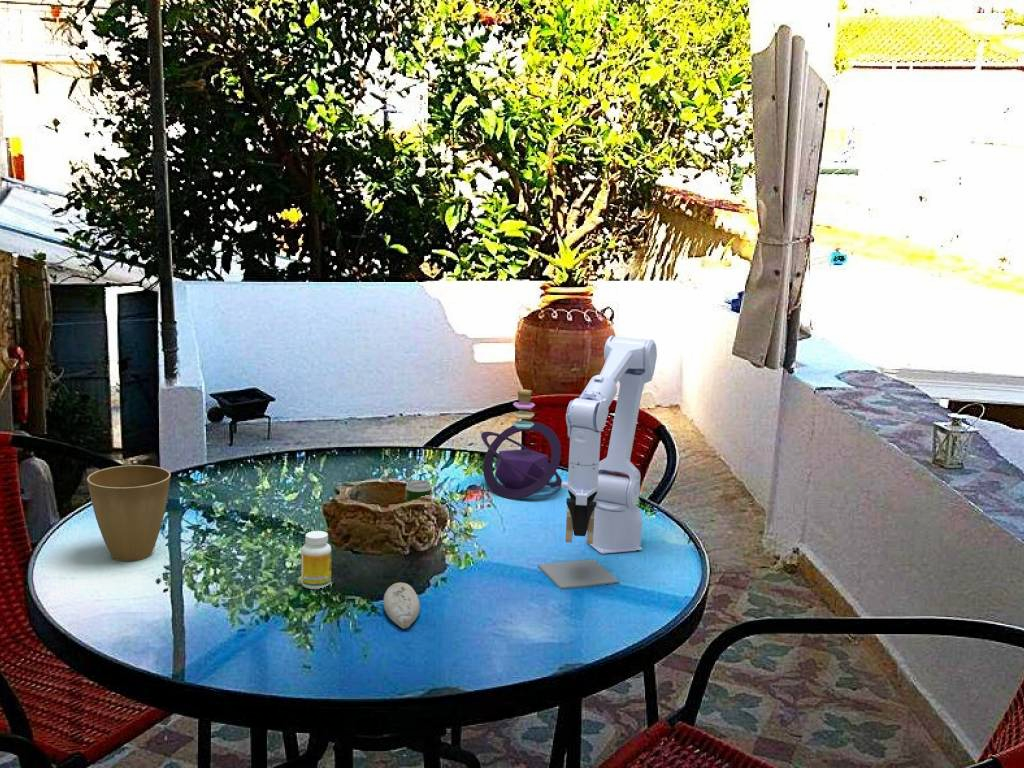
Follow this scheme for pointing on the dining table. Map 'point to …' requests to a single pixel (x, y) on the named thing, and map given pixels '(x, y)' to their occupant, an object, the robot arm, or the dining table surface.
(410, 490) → the beer can
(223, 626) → the dining table surface
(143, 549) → the plant pot
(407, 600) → the decorative stone
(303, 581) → the supplement bottle
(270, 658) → the dining table surface
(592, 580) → the slate mat
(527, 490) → the decorative bottle
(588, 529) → the wooden u-frame
